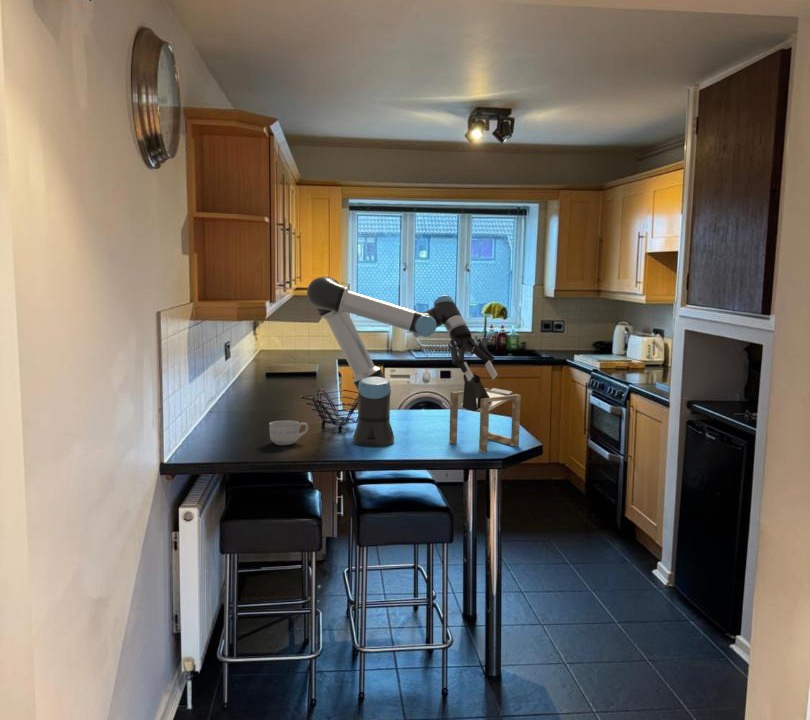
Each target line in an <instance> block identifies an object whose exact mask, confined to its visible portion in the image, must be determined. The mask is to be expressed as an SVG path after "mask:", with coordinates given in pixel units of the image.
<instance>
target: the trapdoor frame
mask: <svg viewBox="0 0 810 720" xmlns="http://www.w3.org/2000/svg"><path fill="white" fill-rule="evenodd" d="M484 389H485V390H486V391H489V390H491V389H490V388H488V387H487V388H486V387H484ZM459 396H464V390H461V391H450V397H449V398H450V401H449V402H450V403H449V440H448V443H449V444H452V445H455V444H457V443H458V418H459V417H458V415H459ZM521 397H522V396H521V394H518V393H515V394H514V393H513V395H508V396H500V397H492V398H482V399H481V404H480V411H479V438H478V440H479V443H478V452H479V453H481V452H482V454H484V452H485V453H487V452H488V440H489V439H490V441H493V440H494V441H493V442H497V443H501V444H505V445H507V444H508V445H507V446H510V447H513V446H517V447H520V446H519V445H520V426H521V425H520V424H521V422H520V421H521V399H522V398H521ZM509 399H513V400H512V409H511V410H512V413H511V433H510V434H511V435H510V436H511V437H508V436H505V435H501V434H498V433H494V432H491V431H489V429H490V428H489V423H490V410H489V411H488V408H489V402H493V401H501V400H509ZM454 443H455V444H454Z"/></svg>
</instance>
